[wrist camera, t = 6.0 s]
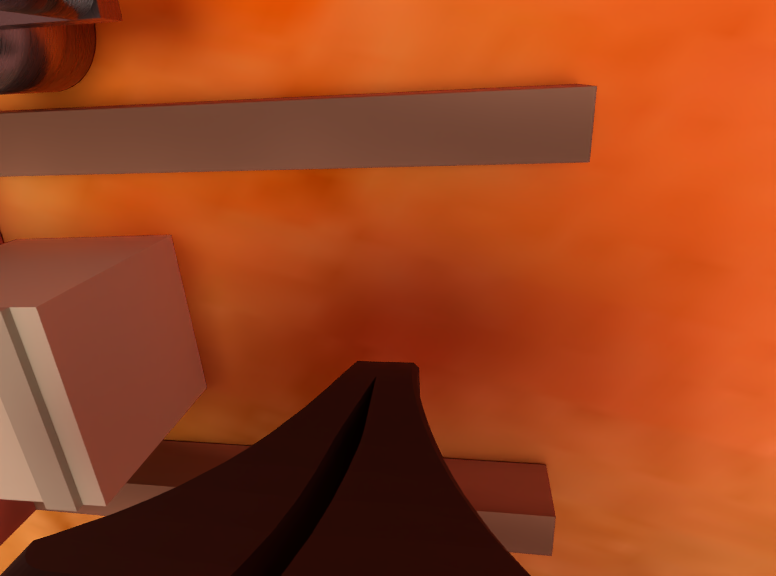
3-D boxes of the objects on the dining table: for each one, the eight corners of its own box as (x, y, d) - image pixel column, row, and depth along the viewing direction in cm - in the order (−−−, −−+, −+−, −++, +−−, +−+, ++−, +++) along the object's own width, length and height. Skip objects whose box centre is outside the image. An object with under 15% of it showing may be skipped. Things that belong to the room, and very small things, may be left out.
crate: (208, 386, 16) (100, 512, 12) (68, 382, 17) (-85, 500, 13) (172, 234, 15) (28, 311, 10) (18, 238, 15) (-184, 311, 11)
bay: (542, 500, 16) (563, 627, 12) (44, 464, 19) (-59, 558, 15) (577, 84, 12) (625, 89, 8) (-85, 115, 14) (-276, 129, 11)
